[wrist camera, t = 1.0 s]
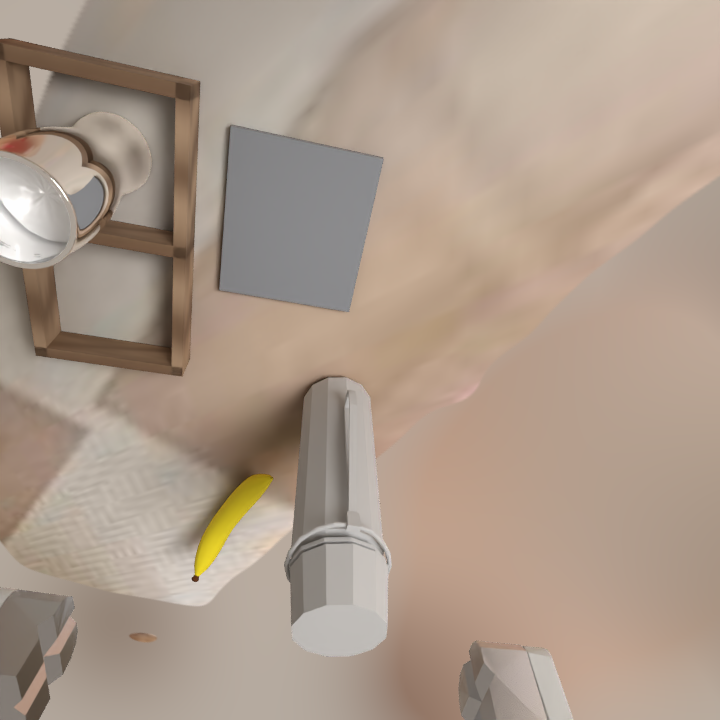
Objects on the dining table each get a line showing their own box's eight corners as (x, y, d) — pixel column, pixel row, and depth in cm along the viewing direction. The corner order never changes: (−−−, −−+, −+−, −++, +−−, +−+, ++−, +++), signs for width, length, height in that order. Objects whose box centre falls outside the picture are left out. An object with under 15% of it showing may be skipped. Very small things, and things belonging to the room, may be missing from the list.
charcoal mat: (232, 124, 40) (230, 126, 39) (382, 157, 41) (383, 159, 41) (220, 287, 47) (219, 290, 47) (348, 309, 49) (348, 312, 48)
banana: (287, 450, 59) (282, 493, 53) (215, 541, 67) (205, 586, 62) (265, 440, 58) (257, 482, 52) (194, 534, 66) (182, 578, 61)
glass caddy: (10, 38, 36) (-14, 39, 34) (200, 81, 38) (190, 85, 35) (51, 338, 49) (35, 355, 47) (189, 359, 51) (182, 376, 49)
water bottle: (362, 431, 57) (377, 666, 37) (293, 418, 56) (268, 653, 35) (388, 366, 53) (422, 592, 32) (313, 349, 51) (298, 575, 30)
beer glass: (132, 94, 38) (34, 130, 26) (172, 186, 42) (103, 257, 30) (47, 118, 39) (-90, 164, 26) (94, 207, 43) (-6, 284, 30)
